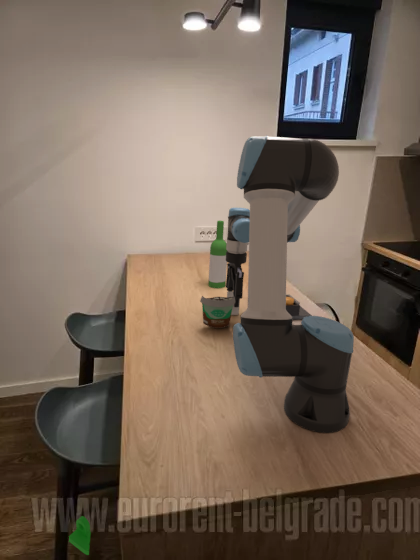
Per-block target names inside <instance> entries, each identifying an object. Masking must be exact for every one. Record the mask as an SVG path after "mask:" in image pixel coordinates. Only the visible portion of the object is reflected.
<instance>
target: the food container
mask: <svg viewBox="0 0 420 560" xmlns="http://www.w3.org/2000/svg"><path fill="white" fill-rule="evenodd" d="M199 301H200V303H201V306H202V322H203V325H205V326H206V327H208V328H209V327H210V328H214V329H215V328H216V329H222V328H227V327H229V326H230V322H231V317H232V315H231V313H232V307H233V305H234V304H235V297H234V295H233V297H227V296H226V297H223V296H214V297H204V296H203V295H202V296H201V298H200V300H199Z"/></svg>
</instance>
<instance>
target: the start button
mask: <svg viewBox="0 0 420 560" xmlns="http://www.w3.org/2000/svg"><path fill="white" fill-rule="evenodd" d="M292 297H293V296H292ZM292 297H286V305H294V299H295V297H293V298H292Z"/></svg>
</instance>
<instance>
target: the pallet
mask: <svg viewBox="0 0 420 560" xmlns="http://www.w3.org/2000/svg"><path fill="white" fill-rule="evenodd" d="M286 297H292V298H294V297H293V296H292V295H291V294H286ZM300 303H301V302H300V301H298V300H297V299H296V298H294V305H286V310H287V312H288V313H289V314H290V315H291V316H292V321H298V320H301V321H302V320H303V318H304V317H308V316H313V315H312V314H311V313H309V312H308V311H307V310H306V309H304V308H303V307H302V306H301V305H300Z"/></svg>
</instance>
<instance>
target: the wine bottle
mask: <svg viewBox="0 0 420 560" xmlns="http://www.w3.org/2000/svg"><path fill="white" fill-rule="evenodd" d="M224 224H225V220H217V221H216V234H215V236H216V237H215V239H214V240H213V241H212V242H211V244H210V249H209V265H208V266H209V267H208V268H209V269H208V286H209V288H212V289H223V288H226V279H227V264H228V262H226V252H227V250H226V244H227V241H225V240H224V229H225V228H224V226H225V225H224Z"/></svg>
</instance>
